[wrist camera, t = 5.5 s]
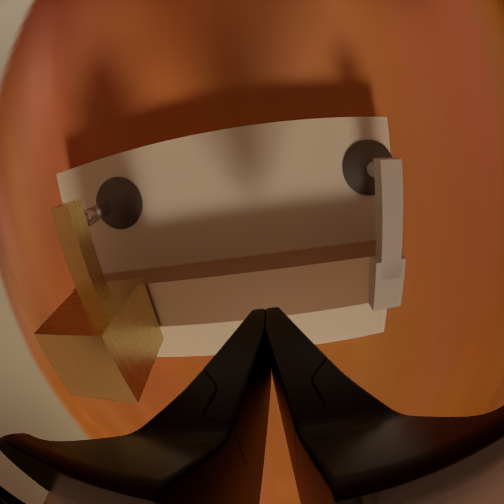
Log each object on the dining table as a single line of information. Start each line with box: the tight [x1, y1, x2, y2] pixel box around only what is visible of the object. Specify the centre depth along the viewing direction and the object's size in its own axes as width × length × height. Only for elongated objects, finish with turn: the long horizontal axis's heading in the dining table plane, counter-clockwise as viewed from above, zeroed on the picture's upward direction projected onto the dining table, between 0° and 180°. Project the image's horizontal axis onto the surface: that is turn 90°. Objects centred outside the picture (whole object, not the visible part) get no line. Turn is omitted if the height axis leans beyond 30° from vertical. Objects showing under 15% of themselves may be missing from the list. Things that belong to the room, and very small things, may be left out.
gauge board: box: [56, 117, 406, 357], centre depth 11 cm, size 14×10×3 cm
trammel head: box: [34, 198, 164, 403], centre depth 9 cm, size 3×6×5 cm, turn 8°
